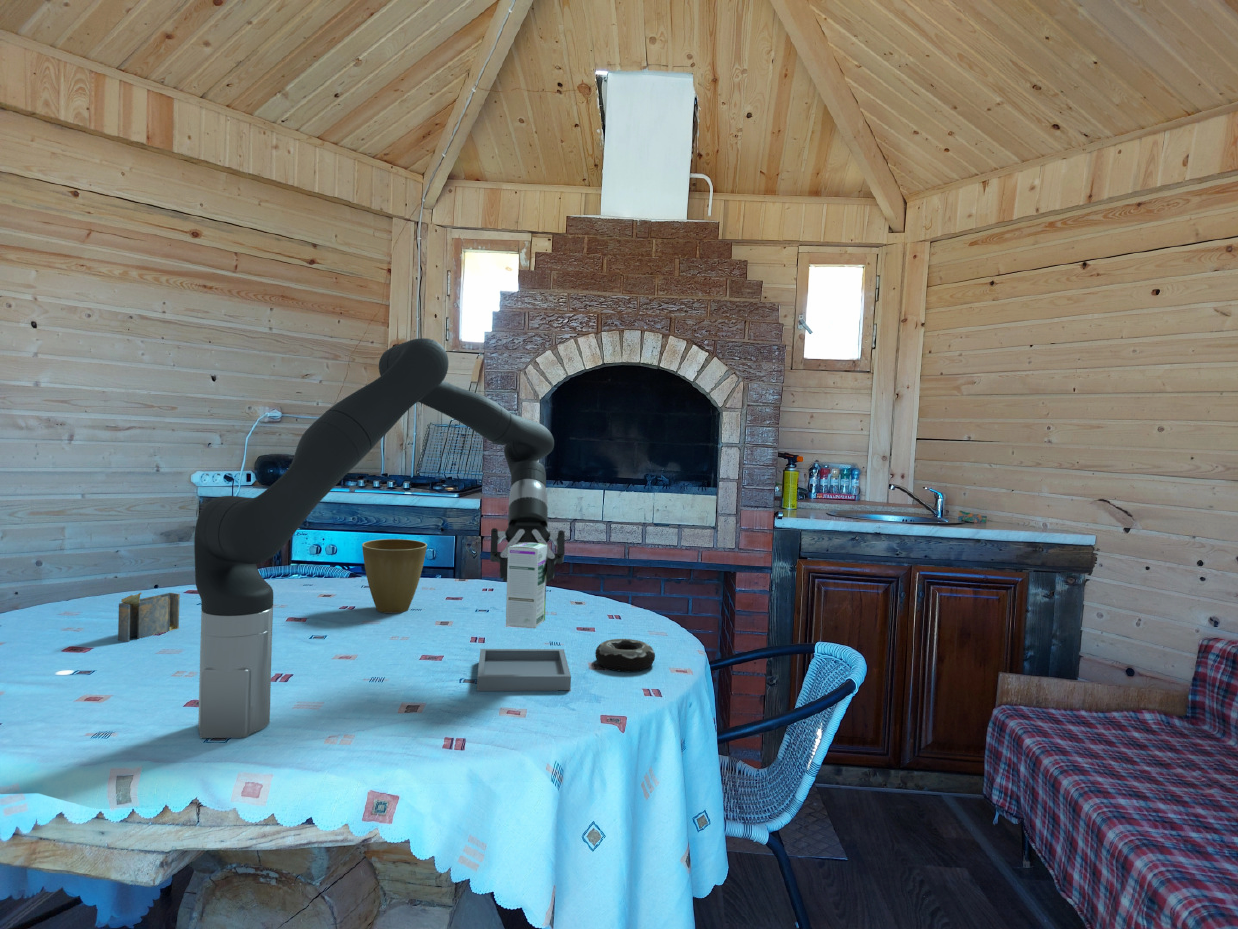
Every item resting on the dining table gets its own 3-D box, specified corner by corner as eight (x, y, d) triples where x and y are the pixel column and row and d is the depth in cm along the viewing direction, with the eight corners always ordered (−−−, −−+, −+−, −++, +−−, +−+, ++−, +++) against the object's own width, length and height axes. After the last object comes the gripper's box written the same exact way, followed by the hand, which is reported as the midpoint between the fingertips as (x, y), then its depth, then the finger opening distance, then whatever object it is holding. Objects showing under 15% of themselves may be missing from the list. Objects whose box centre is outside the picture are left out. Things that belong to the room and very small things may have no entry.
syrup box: (535, 629, 132) (539, 548, 131) (504, 625, 133) (507, 545, 132) (545, 621, 137) (549, 543, 137) (514, 618, 139) (518, 540, 138)
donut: (640, 654, 153) (641, 635, 153) (664, 672, 142) (665, 651, 142) (587, 657, 149) (587, 638, 149) (607, 676, 138) (608, 655, 138)
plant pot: (348, 607, 179) (351, 541, 178) (405, 600, 189) (407, 537, 188) (377, 620, 168) (380, 550, 167) (436, 612, 179) (438, 545, 178)
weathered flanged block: (129, 644, 144) (130, 594, 144) (117, 642, 145) (119, 593, 144) (180, 630, 155) (181, 584, 154) (169, 628, 156) (170, 582, 155)
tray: (570, 690, 129) (570, 676, 129) (476, 691, 127) (477, 676, 127) (563, 661, 145) (563, 649, 145) (479, 661, 143) (480, 648, 142)
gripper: (491, 494, 141) (487, 567, 130) (566, 497, 143) (568, 568, 132) (490, 518, 146) (486, 590, 135) (563, 520, 148) (565, 591, 138)
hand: (527, 579), depth 134 cm, fingers closed on syrup box, 7 cm apart
